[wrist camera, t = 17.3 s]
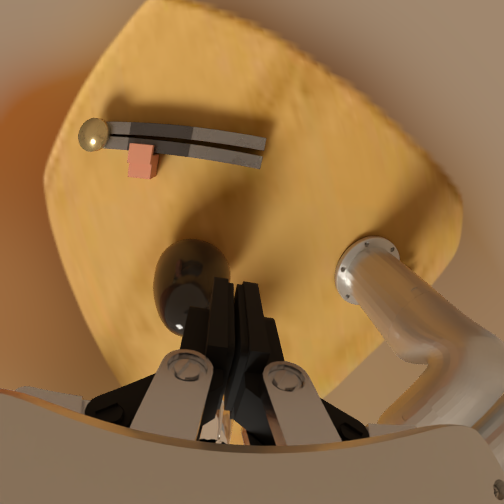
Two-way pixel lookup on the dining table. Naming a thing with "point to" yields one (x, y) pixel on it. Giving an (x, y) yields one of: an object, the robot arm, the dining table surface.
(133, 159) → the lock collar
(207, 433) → the wineglass
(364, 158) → the dining table surface
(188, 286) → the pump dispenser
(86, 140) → the tongs fixed arm
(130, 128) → the tongs moving arm
